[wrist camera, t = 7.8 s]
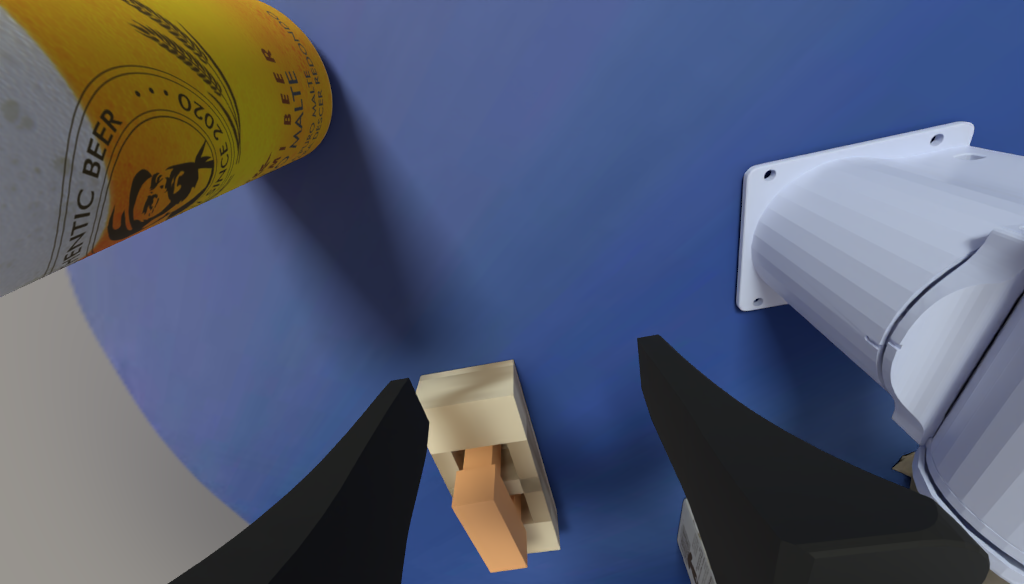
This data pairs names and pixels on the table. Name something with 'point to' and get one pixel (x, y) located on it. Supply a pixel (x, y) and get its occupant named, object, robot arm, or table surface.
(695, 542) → the coffee box
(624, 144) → the table surface
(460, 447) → the cream slotted block
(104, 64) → the beer can
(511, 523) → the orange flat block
